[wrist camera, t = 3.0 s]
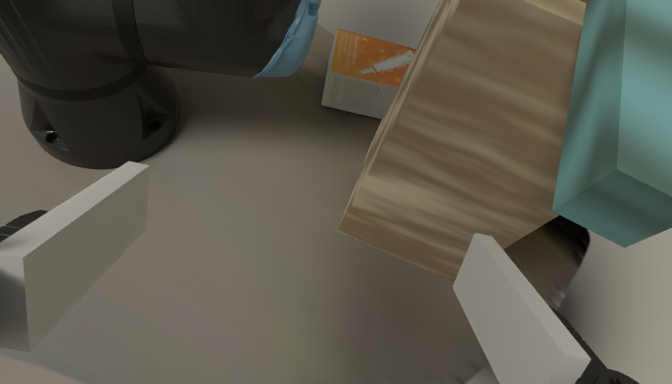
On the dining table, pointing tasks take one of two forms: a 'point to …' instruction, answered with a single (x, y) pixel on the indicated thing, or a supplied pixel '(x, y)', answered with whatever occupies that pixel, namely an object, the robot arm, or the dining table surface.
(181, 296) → the dining table surface
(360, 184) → the wooden board
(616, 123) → the teal and brown block
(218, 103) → the dining table surface
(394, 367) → the dining table surface
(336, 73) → the small box
